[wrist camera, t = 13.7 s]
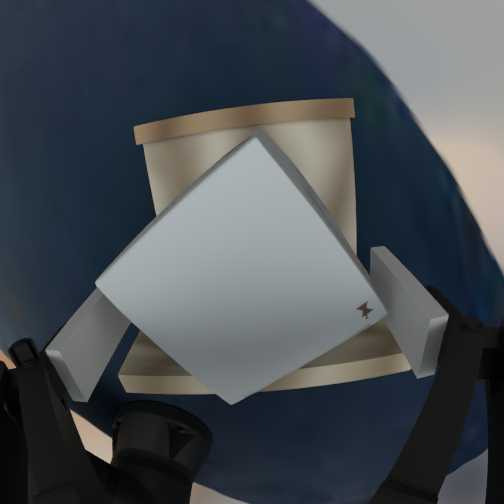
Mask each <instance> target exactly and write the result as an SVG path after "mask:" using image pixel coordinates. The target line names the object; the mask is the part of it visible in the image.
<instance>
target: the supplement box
mask: <svg viewBox="0 0 504 504" xmlns="http://www.w3.org/2000/svg"><path fill="white" fill-rule="evenodd" d="M95 284H96V286H97V287H98V288H99V289H100V290H101V292H102V293H103V294H104V295H105V296H106V297H107V298H108V299H109V300H110V301H111V302H112V303H113V304H114V305H115V306H116V307H117V308H118V309H119V310H120V311H121V312H122V313H123V314H124V315H125V316H126V317H127V318H128V319H129V320H130V321H131V322H132V323H133V324H134V325H136V326H137V327H138V328H139V329H140V330H141V331H142V332H143V333H144V334H145V335H147V336H148V337H149V338H150V339H151V340H152V341H153V342H154V343H155V344H156V345H158V346H159V347H160V348H161V349H162V350H163V351H164V352H166V353H167V354H168V355H169V356H170V357H171V358H172V359H174V360H175V361H176V362H177V363H178V364H179V365H181V366H182V367H183V368H184V369H185V370H186V371H188V372H189V373H190V374H191V375H192V376H194V377H195V378H196V379H197V380H199V381H200V382H201V383H202V384H204V385H205V386H206V387H207V388H209V389H210V390H211V391H213V392H214V393H215V394H217V395H218V396H219V397H221V398H222V399H223V400H225V401H226V402H227V403H229V404H231V405H233V404H235V403H237V402H238V401H241V400H243V399H244V398H246V397H247V396H249V395H251V394H253V393H255V392H257V391H259V390H261V389H263V388H264V387H266V386H268V385H270V384H272V383H273V382H275V381H277V380H279V379H280V378H282V377H284V376H286V375H288V374H290V373H291V372H293V371H295V370H297V369H298V368H300V367H302V366H304V365H305V364H307V363H309V362H310V361H312V360H314V359H316V358H317V357H319V356H321V355H322V354H324V353H326V352H327V351H329V350H331V349H333V348H334V347H336V346H338V345H339V344H341V343H343V342H345V341H346V340H348V339H350V338H351V337H353V336H354V335H356V334H358V333H359V332H361V331H363V330H364V329H366V328H368V327H369V326H371V325H373V324H374V323H376V322H378V321H379V320H381V319H383V318H384V317H386V316H387V315H388V310H387V309H386V307H385V305H384V303H383V301H382V299H381V298H380V296H379V294H378V292H377V291H376V289H375V287H374V286H373V284H372V282H371V281H370V279H369V277H368V276H367V274H366V273H365V271H364V269H363V267H362V265H361V264H360V262H359V260H358V258H357V257H356V255H355V253H354V252H353V250H352V248H351V247H350V245H349V243H348V242H347V240H346V238H345V237H344V235H343V234H342V232H341V230H340V229H339V227H338V226H337V224H336V222H335V221H334V219H333V218H332V216H331V214H330V213H329V211H328V209H327V208H326V207H325V205H324V204H323V202H322V201H321V199H320V198H319V197H318V195H317V194H316V192H315V191H314V190H313V188H312V187H311V185H310V184H309V183H308V181H307V180H306V179H305V177H304V176H303V175H302V173H301V172H300V171H299V170H298V168H297V167H296V166H295V165H294V163H293V162H292V161H291V160H290V158H289V157H288V156H287V155H286V154H285V153H284V151H283V150H282V149H281V148H280V147H279V146H278V145H277V143H276V142H275V141H274V140H273V139H272V138H271V137H270V136H269V135H268V134H267V133H266V132H265V131H264V130H263V129H259V130H258V131H256V132H255V133H254V134H252V135H251V136H250V137H248V138H247V139H245V140H244V141H243V142H242V143H240V144H239V145H237V146H236V147H235V148H234V149H232V150H231V151H230V152H228V153H227V154H226V155H225V156H223V157H222V158H221V159H220V160H219V161H217V162H216V163H215V164H214V165H213V166H211V167H210V168H209V169H208V170H207V171H206V172H204V173H203V174H202V175H201V176H200V177H199V178H198V179H196V180H195V181H194V182H193V183H192V184H191V185H190V186H189V187H187V188H186V189H185V190H184V191H183V192H182V193H181V194H180V195H179V196H178V197H176V198H175V199H174V200H173V201H172V202H171V203H170V204H169V205H168V206H167V207H166V208H165V209H164V210H163V211H162V212H161V213H160V214H159V215H157V216H156V217H155V218H154V219H153V220H152V221H151V222H150V223H149V224H148V225H147V226H146V227H145V228H144V229H143V230H142V231H141V232H140V233H139V234H138V236H137V237H136V238H135V239H134V240H133V241H132V242H131V243H130V244H129V245H128V246H127V247H126V248H125V249H124V250H123V251H122V252H121V253H120V254H119V256H118V257H117V258H116V259H115V260H114V261H113V262H112V263H111V264H110V265H109V266H108V268H107V269H106V270H105V271H104V272H103V273H102V274H101V275H100V276H99V278H98V279H97V280H96V282H95Z"/></svg>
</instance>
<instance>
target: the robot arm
mask: <svg viewBox="0 0 504 504" xmlns="http://www.w3.org/2000/svg"><path fill="white" fill-rule="evenodd" d="M370 281H371V282H372V284H373V286H374V287H375V289H376V291H377V292H378V294H379V296H380V298H381V299H382V301H383V303H384V305H385V307H386V309H387V310H388V315H387V316H386V317H384V318H383V319H384V321H385V323H386V324H387V326H388V328H389V329H390V331H391V333H392V335H393V336H394V338H395V340H396V341H397V343H398V345H399V347H400V348H401V350H402V352H403V354H404V356H405V357H406V359H407V361H408V363H409V364H410V366H411V368H412V370H413V372H414V374H415V375H416V377H417V379H418V378H421V377H425V376H429V375H433V374H434V373H435V369H436V366H437V362H438V364H439V365H440V367H439V369H438V372H437V375H436V377H435V380H434V382H433V385H432V387H431V390H430V392H429V395H428V397H427V399H426V402H425V404H424V406H423V408H422V411H421V413H420V415H419V417H418V419H417V422H416V424H415V426H414V428H413V430H412V432H411V434H410V436H409V438H408V440H407V442H406V444H405V446H404V448H403V450H402V452H401V453H400V455H399V457H398V459H397V461H396V463H395V464H394V466H393V468H392V470H391V471H390V473H389V475H388V476H387V478H386V479H385V480H384V481H383V483H382V484H381V485H380V487H379V488H378V490H377V492H376V493H375V495H374V496H373V498H372V499H371V501H370V502H369V504H437V501H438V493H439V491H440V489H441V487H442V484H443V482H444V480H445V477H446V475H447V472H448V470H449V467H450V465H451V462H452V460H453V457H454V454H455V452H456V449H457V446H458V443H459V440H460V437H461V434H462V431H463V428H464V425H465V422H466V418H467V415H468V411H469V408H470V404H471V400H472V397H473V393H474V389H475V384H476V380H477V379H484V380H485V390H486V402H487V419H488V475H487V489H486V501H485V504H504V318H503V320H502V323H501V326H500V327H485V324H484V323H483V322H482V321H481V320H479V319H478V318H475V317H472V316H463V315H462V313H461V312H460V311H459V310H458V309H457V308H456V307H455V306H454V305H453V304H452V303H451V302H450V301H449V300H448V299H447V298H446V297H445V295H444V294H443V293H442V292H441V291H440V290H438V289H436V288H434V287H432V286H431V285H429V286H424V287H423V286H422V285H421V284H420V282H419V281H418V280H417V279H416V278H415V277H414V276H413V275H412V274H411V273H410V272H409V271H408V270H407V269H406V268H405V267H404V266H403V265H402V264H401V262H400V261H399V260H398V259H397V258H396V257H395V256H394V255H393V254H392V253H391V252H390V251H389V250H388V249H387V248H386V247H385V246H381V247H373V248H371V254H370ZM130 323H131V321H130V320H129V319H128V318H127V317H126V316H125V315H124V314H123V313H122V312H121V311H120V310H119V309H118V308H117V307H116V306H115V305H114V304H113V303H112V302H111V301H110V300H109V299H108V298H107V297H106V296H105V295H104V294H103V293H102V292H101V290H100V289H99V288H98V287H97V288H96V289H95V290H94V292H93V293H92V294H91V295H90V296H89V297H88V299H87V300H86V301H85V302H84V303H83V304H82V305H81V307H80V308H79V309H78V310H77V311H76V313H75V314H74V315H73V316H72V317H71V319H70V320H69V321H68V322H67V323H66V324H64V325H63V326H62V327H60V328H59V330H58V331H57V332H56V333H55V335H54V336H53V337H52V338H51V340H50V341H49V342H48V343H47V344H46V346H45V347H44V348H43V349H42V351H41V352H40V353H39V352H38V350H37V348H36V346H35V344H34V342H33V340H32V339H31V338H24V339H20V340H18V341H16V342H15V343H14V344H12V345H11V346H10V348H9V350H8V353H9V355H10V357H11V359H12V361H13V363H14V364H15V366H16V368H14V369H8V368H7V366H6V365H5V363H4V362H3V361H0V504H189V503H190V496H191V489H192V484H193V481H194V479H195V477H196V476H197V474H198V473H199V471H200V469H201V468H202V466H203V464H204V463H205V461H206V459H207V458H208V456H209V453H210V448H211V435H210V432H209V431H208V429H207V428H206V427H205V425H204V424H203V423H202V422H200V421H199V420H198V419H196V418H195V417H194V416H192V415H190V414H189V413H187V412H185V411H183V410H180V409H178V408H175V407H172V406H169V405H166V404H162V403H157V402H150V401H136V402H131V403H127V404H125V405H123V406H122V407H121V408H120V409H119V410H118V411H117V414H116V416H115V419H114V421H113V425H112V449H113V457H112V461H111V463H110V464H109V463H107V462H105V461H104V460H102V459H100V458H99V457H97V456H95V455H94V454H92V453H90V452H89V451H87V450H85V448H84V445H83V443H82V441H81V438H80V436H79V433H78V430H77V428H76V425H75V423H74V420H73V417H72V414H71V411H70V409H69V406H68V403H67V401H66V399H65V398H64V395H65V394H66V392H67V391H68V393H69V395H70V396H71V398H72V399H73V401H80V402H88V400H89V398H90V396H91V394H92V392H93V390H94V388H95V386H96V384H97V382H98V381H99V379H100V377H101V375H102V373H103V371H104V369H105V367H106V366H107V364H108V362H109V360H110V358H111V356H112V355H113V353H114V351H115V349H116V347H117V346H118V344H119V342H120V340H121V339H122V337H123V335H124V333H125V332H126V330H127V328H128V326H129V325H130ZM5 409H6V410H5Z"/></svg>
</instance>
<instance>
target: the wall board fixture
mask: <svg viewBox="0 0 504 504" xmlns="http://www.w3.org/2000/svg"><path fill="white" fill-rule="evenodd" d="M350 117H355V113H354V104H353V98H341V99H317V100H301V101H288V102H277V103H267V104H258V105H249V106H242V107H234V108H227V109H220V110H214V111H208V112H202V113H196V114H191V115H185V116H180V117H175V118H170V119H165V120H161V121H156V122H152V123H147V124H143V125H139V126H135V127H134V132H135V139H136V145H139V144H143V146H144V152H145V158H146V164H147V170H148V175H149V180H150V186H151V191H152V196H153V201H154V206H155V211H156V216H157V215H159V214H160V213H161V212H162V211H163V210H164V209H165V208H166V207H167V206H168V205H169V204H170V203H171V202H172V201H173V200H174V199H175V198H176V197H178V196H179V195H180V194H181V193H182V192H183V191H184V190H185V189H186V188H187V187H189V186H190V185H191V184H192V183H193V182H194V181H195V180H196V179H198V178H199V177H200V176H201V175H202V174H203V173H204V172H206V171H207V170H208V169H209V168H210V167H211V166H213V165H214V164H215V163H216V162H217V161H219V160H220V159H221V158H222V157H223V156H225V155H226V154H227V153H228V152H230V151H231V150H232V149H234V148H235V147H236V146H237V145H239V144H240V143H242V142H243V141H244V140H245V139H247V138H248V137H250V136H251V135H252V134H254V133H255V132H256V131H258V130H259V129H263V130H264V131H265V132H266V133H267V134H268V135H269V136H270V137H271V138H272V139H273V140H274V141H275V142H276V143H277V145H278V146H279V147H280V148H281V149H282V150H283V151H284V153H285V154H286V155H287V156H288V157H289V158H290V160H291V161H292V162H293V163H294V165H295V166H296V167H297V168H298V170H299V171H300V172H301V173H302V175H303V176H304V177H305V179H306V180H307V181H308V183H309V184H310V185H311V187H312V188H313V190H314V191H315V192H316V194H317V195H318V197H319V198H320V199H321V201H322V202H323V204H324V205H325V207H326V208H327V209H328V211H329V213H330V214H331V216H332V218H333V219H334V221H335V222H336V224H337V226H338V227H339V229H340V230H341V232H342V234H343V235H344V237H345V238H346V240H347V242H348V243H349V245H350V247H351V248H352V250H353V252H354V253H355V255H356V202H355V180H354V163H353V149H352V136H351V125H350ZM356 257H357V256H356ZM357 258H358V257H357ZM358 260H359V259H358ZM359 262H360V261H359ZM360 264H361V262H360ZM361 265H362V264H361ZM362 267H363V265H362ZM363 269H364V271H365V273H366V274H367V276H368V277H369V279H370V276H369V274H368V273H367V271H366V270H365V268H364V267H363ZM410 369H411V366H410V364H409V363H408V361H407V359H406V357H405V356H404V354H403V352H402V350H401V348H400V347H399V345H398V343H397V341H396V340H395V338H394V336H393V335H392V333H391V331H390V329H389V328H388V326H387V324H386V323H385V321H384V319H381V320H379V321H378V322H376V323H374V324H373V325H371V326H369V327H368V328H366V329H364V330H363V331H361V332H359V333H358V334H356V335H354V336H353V337H351V338H350V339H348V340H346V341H345V342H343V343H341V344H339V345H338V346H336V347H334V348H333V349H331V350H329V351H327V352H326V353H324V354H322V355H321V356H319V357H317V358H316V359H314V360H312V361H310V362H309V363H307V364H305V365H304V366H302V367H300V368H298V369H297V370H295V371H293V372H291V373H290V374H288V375H286V376H284V377H282V378H280V379H279V380H277V381H275V382H273V383H272V384H270V385H268V386H266V387H264V388H263V389H261V390H259V391H257V392H262V391H275V390H286V389H296V388H305V387H313V386H321V385H329V384H336V383H343V382H349V381H355V380H361V379H367V378H372V377H378V376H383V375H388V374H393V373H398V372H403V371H407V370H410ZM118 377H119V379H120V381H121V383H122V385H123V387H124V389H125V391H126V392H129V393H149V394H215V393H214V392H213V391H211V390H210V389H209V388H207V387H206V386H205V385H204V384H202V383H201V382H200V381H199V380H197V379H196V378H195V377H194V376H192V375H191V374H190V373H189V372H188V371H186V370H185V369H184V368H183V367H182V366H181V365H179V364H178V363H177V362H176V361H175V360H174V359H172V358H171V357H170V356H169V355H168V354H167V353H166V352H164V351H163V350H162V349H161V348H160V347H159V346H158V345H156V344H155V343H154V342H153V341H152V340H151V339H150V338H149V337H148V336H147V335H145V334H144V333H143V332H142V331H141V330H140V332H139V334H138V336H137V338H136V340H135V342H134V343H133V345H132V347H131V349H130V351H129V353H128V355H127V357H126V359H125V361H124V363H123V365H122V367H121V369H120V371H119V373H118Z"/></svg>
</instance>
